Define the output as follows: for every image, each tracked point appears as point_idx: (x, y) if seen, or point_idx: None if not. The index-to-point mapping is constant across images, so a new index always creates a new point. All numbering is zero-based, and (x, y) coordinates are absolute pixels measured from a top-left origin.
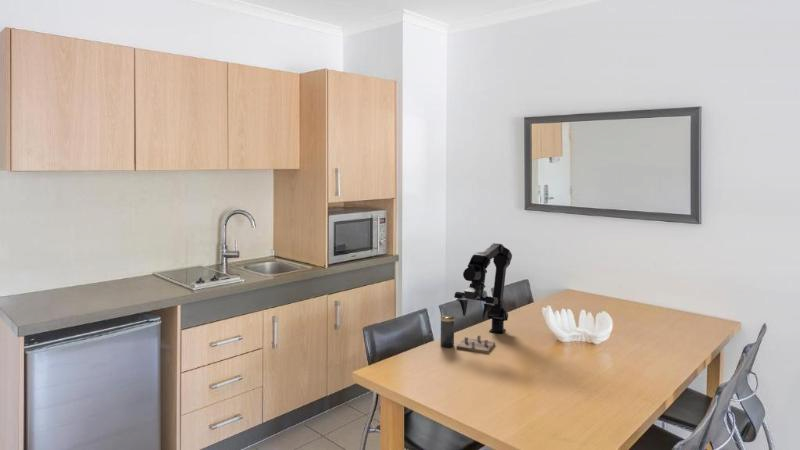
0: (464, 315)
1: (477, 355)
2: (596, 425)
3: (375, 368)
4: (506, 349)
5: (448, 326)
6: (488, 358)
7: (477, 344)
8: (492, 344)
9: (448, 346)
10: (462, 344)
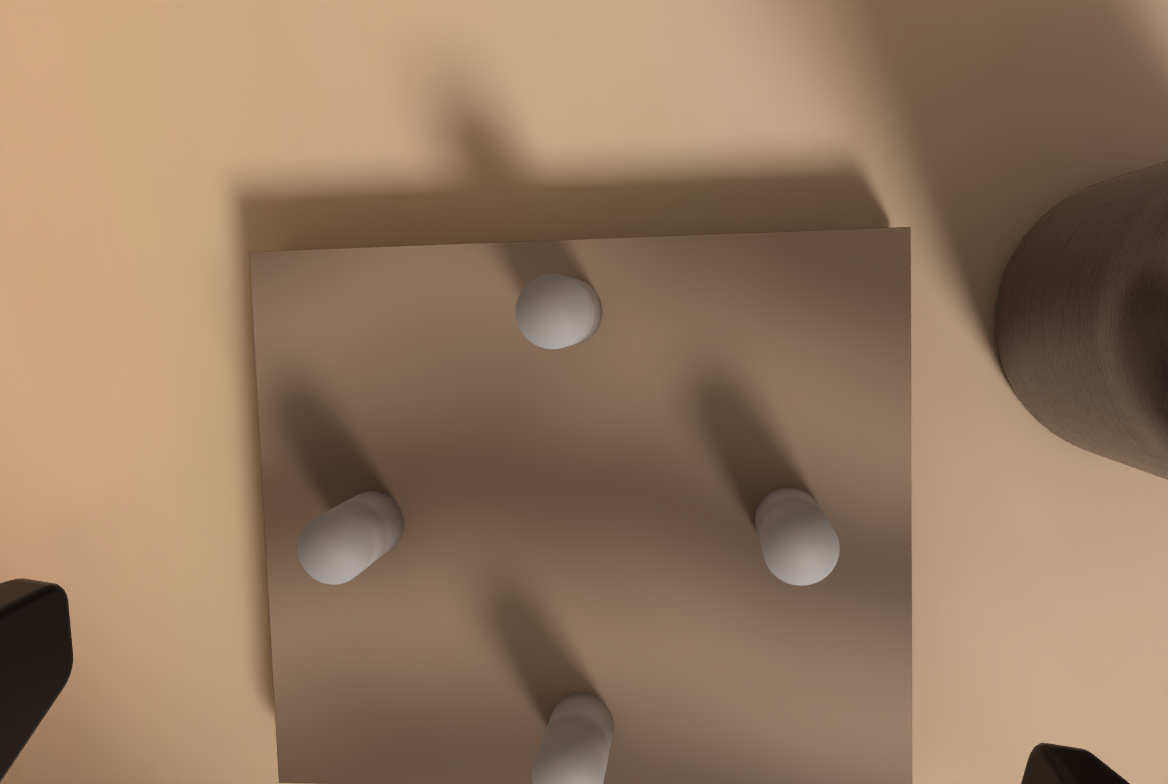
0: (1030, 780)
1: (419, 100)
2: None
3: None
4: None
5: None
6: (198, 49)
7: (544, 519)
8: (283, 640)
9: (1083, 190)
10: (826, 382)
